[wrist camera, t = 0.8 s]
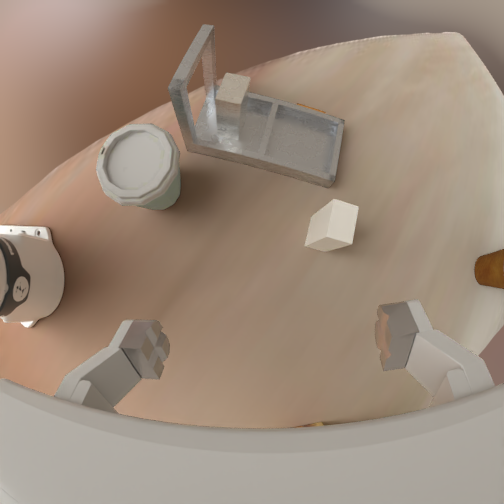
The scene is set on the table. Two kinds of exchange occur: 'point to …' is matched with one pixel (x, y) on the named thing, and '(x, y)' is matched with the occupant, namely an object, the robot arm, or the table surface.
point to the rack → (254, 122)
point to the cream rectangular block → (332, 226)
